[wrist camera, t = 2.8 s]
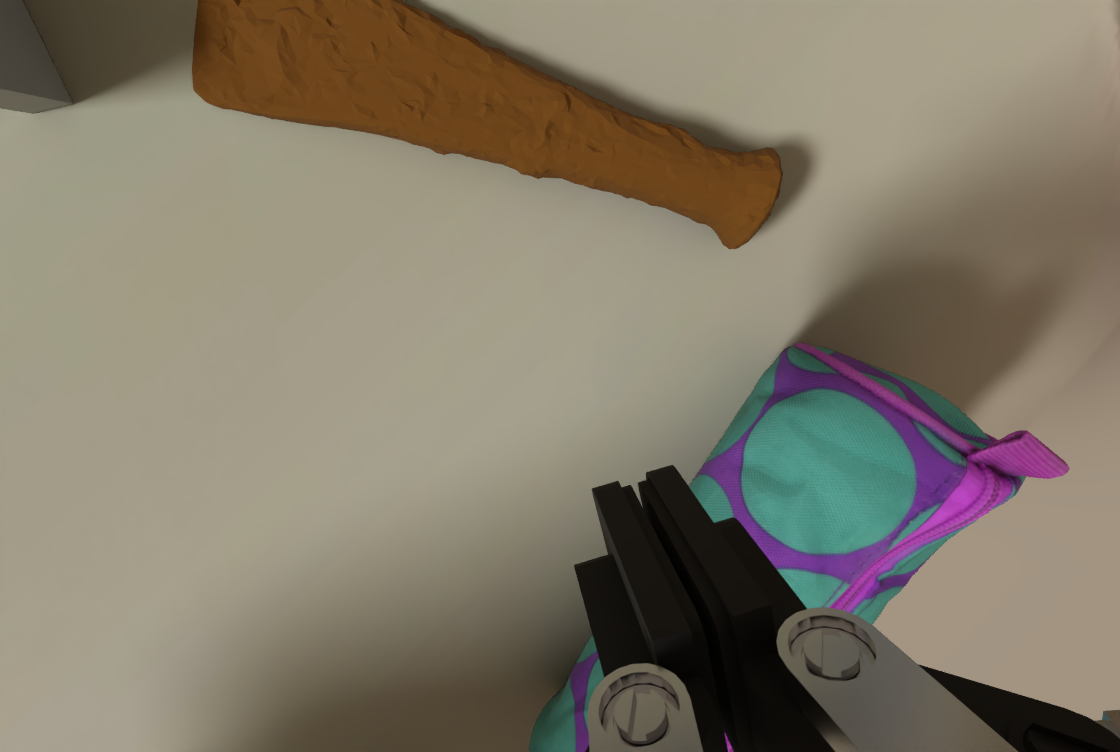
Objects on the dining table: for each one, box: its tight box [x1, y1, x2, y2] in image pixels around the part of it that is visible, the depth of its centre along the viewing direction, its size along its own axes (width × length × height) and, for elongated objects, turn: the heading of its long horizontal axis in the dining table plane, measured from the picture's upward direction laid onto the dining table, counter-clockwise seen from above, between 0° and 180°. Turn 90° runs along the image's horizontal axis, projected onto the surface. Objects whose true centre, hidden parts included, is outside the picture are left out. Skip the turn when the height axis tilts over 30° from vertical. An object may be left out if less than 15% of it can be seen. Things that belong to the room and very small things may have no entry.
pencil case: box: [529, 343, 1069, 752], centre depth 22 cm, size 21×9×10 cm, turn 151°
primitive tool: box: [192, 0, 783, 249], centre depth 18 cm, size 19×6×4 cm, turn 75°
